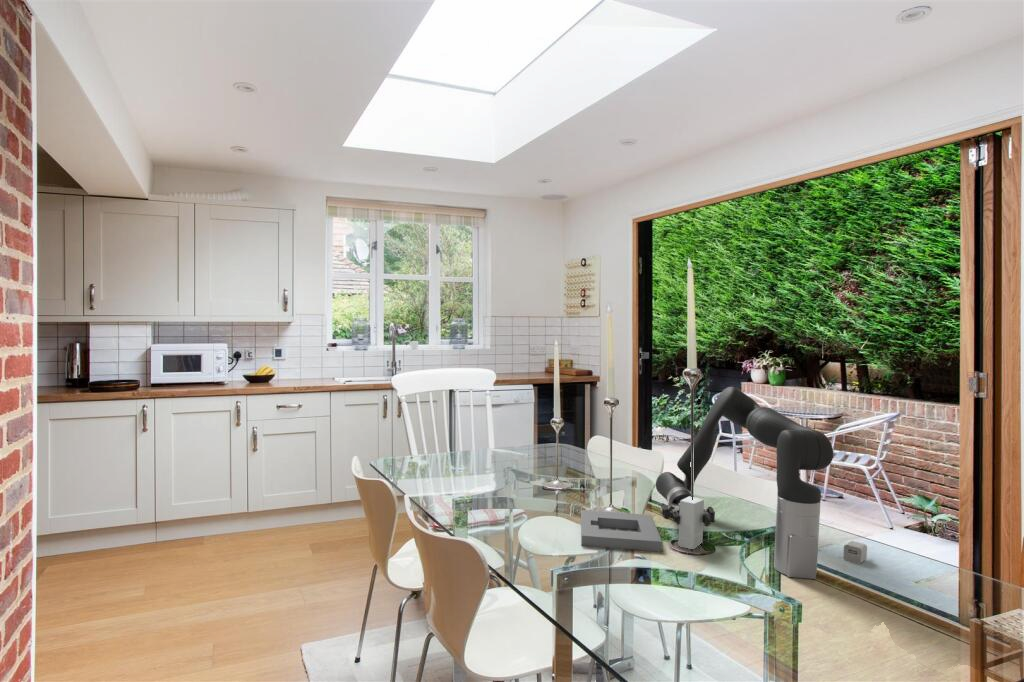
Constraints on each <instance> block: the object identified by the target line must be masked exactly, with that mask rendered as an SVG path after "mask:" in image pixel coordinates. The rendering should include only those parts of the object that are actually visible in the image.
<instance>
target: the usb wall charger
mask: <svg viewBox="0 0 1024 682" xmlns="http://www.w3.org/2000/svg"><path fill="white" fill-rule="evenodd" d="M867 557H868V545H867V544H865V543H864V542H863V543H862V542H858V541H854V540H850V541H849V542H847V543H846V544H844V546H843V560H844V561H847V562H850V563H854V564H858V565H859V564H861V563H862V562H864V561H865V560H867Z"/></svg>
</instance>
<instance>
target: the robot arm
mask: <svg viewBox="0 0 1024 682" xmlns="http://www.w3.org/2000/svg"><path fill="white" fill-rule="evenodd" d="M722 417H724V418H725V419H727V420H728V421H730V422H731V423H733V424H734V425H736V426H738V427H741V428H743V429H746V430H747V431H748V433H749V435H751V436H752V437H753V438H754V439H755V440H757V441H758V442H760V443H761V444H763V445H765V446H767V447H771V448H774V449H776V487H777V494H776V495H777V500H776V515H775V517H776V518H775V534H774V551H773V553H774V555H773V556H774V557H773V568H774V569H775V570H776V571H777V572H778V573H780V574H783V575H785V576H786V577H788V578H798V579H799V578H800V579H811V580H816V579H817V575H818V574H817V573H818V558H819V557H818V553H819V539H820V538H819V537H820V531H819V530H820V518H821V517H820V515H821V500H822V499H821V497H822V491H821V489H820V488H819V487H817V486H815V485H813V484H811V483H809V482H806V481H804V480H802V479H801V477H800V471H821V470H823V469H826V468H827V467H829V466H830V465H831V464H832V462H833V459H834V449H833V445H832V443H831V441H830V440H829V438H828V437H827V436H826V434H824V433H823V432H821V431H819V430H816V429H813V428H810V427H806V426H804V425H802V424H800V423H798V422H796V421H795V420H792V418H788V417H787V416H786V415H784V414H782V413H781V412H779V411H776V410H775V409H773V408H770V407H766V406H760V405H759V404H758V403H757V402H756V401H755V400H754V399H753V398H751V397H750V396H749V395H748V394H746V393H744V391H741V390H740V389H739V388H737V387H735V386H728V387H726V388H724V389H723V390H722V391H721V392H720V393H719V395H718V396H717V397H716V399H715V401H714V402H713V404H712V406H711V408H710V409H709V412H708V413H707V415H706V417H705V418H704V421H703V422H702V425H701V426H700V428H699V430H698V432H697V433H696V435H695V437H694V438H693V440H694V484H695V482H696V480H697V478H698V476H699V474H700V473H701V472H702V470H703V469H704V468H705V467H706V465H707V463H708V462H709V461H710V459H711V458H712V456H713V451H714V445H715V433H716V429H717V425H718V423H719V422H720V420H721V419H722ZM690 462H691V444H689V446H688V447H687V449H686V450H685V451H684V453H682V455H681V457H680V458H679V459H678V461H677V464H676V465H677V468H678V469H679V470H680V471H681V472H682V473H683V474H684V475H685V478H684V480H683V479H681V478H679V477H678V476H677V475H675V474H674V473H672V472H670V471H664V472H662V473H660V474H659V475H658V476H657V478H656V481H655V489H656V491H657V492H658V494H660V495H661V496H662V497H663V498H664V499H665V500H666V501H667V504H665V503H664V502H662V503H660V511H659V512H660V515H661V516H662V517H663V518H664V519H665V520H670V519H671V520H672V521H673V522H674V523H675V524H676V525H679V524H680V515H679V512H680V501H681V500H683V499H685V498H687V497H689V496H691V493H692V490H691V467H690ZM694 484H693V486H695V485H694ZM693 497H695V496H694V495H693ZM715 515H716V512H715V510H714V507H712V506H708V507H706V508H704V513H703V526H705V527H709V526H710V525H711V523H715V522H716V521H715V517H716V516H715Z"/></svg>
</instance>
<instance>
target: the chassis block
mask: <svg viewBox="0 0 1024 682" xmlns="http://www.w3.org/2000/svg"><path fill="white" fill-rule="evenodd" d="M580 511H581V512H580V539H581V540H580V542H581V544H580V545H581V546H584V547H586V546H587V547H598V548H600V547H601V548H612V549H623V550H624V549H625V550H635V551H636V550H638V551H647V552H648V551H649V552H660V553H661V552H662V551H663V550H662V549H663V541H662V538H661V536H660V533H659V530H658V528H657V525H656V522H655V520H654V517H653V514H643V513H628V512H617V511H616V512H614V511H601V510H589V509H588V510H587V509H581V510H580ZM600 527H603V528H612V529H601V528H600ZM613 528H615V529H613ZM616 529H627V530H628V529H629V530H637V531H627V530H616Z"/></svg>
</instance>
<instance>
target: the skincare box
mask: <svg viewBox="0 0 1024 682" xmlns="http://www.w3.org/2000/svg"><path fill="white" fill-rule="evenodd" d="M704 509H705V499H704V498H700V497H695V496H694V497H693V500H692V497H691V496H689V497H687V498H685V499H683V500H681V501H680V512H679V515H680V524H678V539H677V540H678V542H677V543H678V544H677V546H678V547H679V546H680V547H679V548H683V547H684V549H686V548H688V549H687V550H690V549H694V550H696V549H697V548H698V547H697V546H699V545H700V544H701V543H702V544H703V535H704V523H703V513H704ZM700 546H701V545H700ZM700 546H699V547H700ZM696 547H697V548H696ZM695 548H696V549H695Z"/></svg>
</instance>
